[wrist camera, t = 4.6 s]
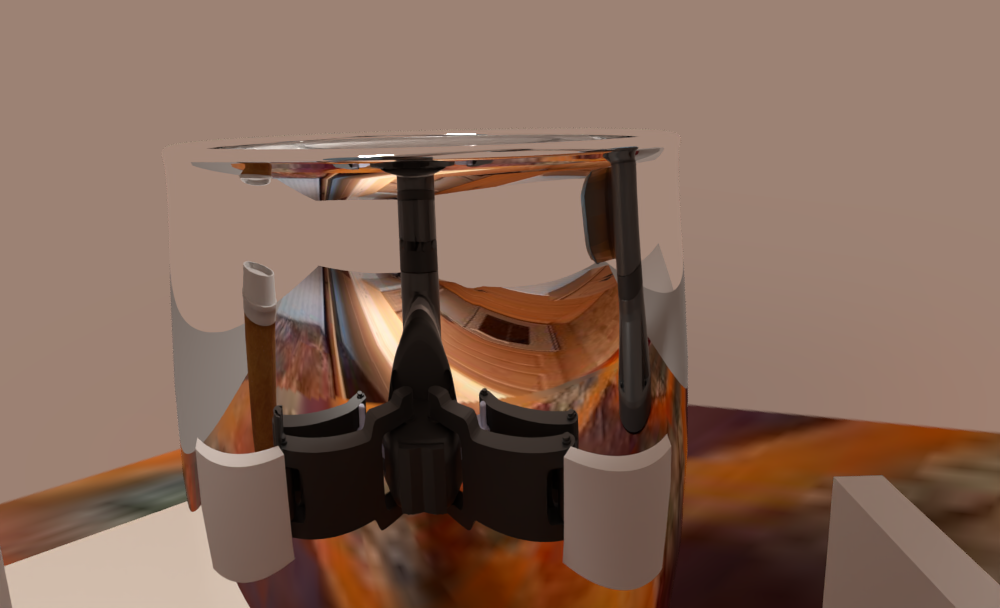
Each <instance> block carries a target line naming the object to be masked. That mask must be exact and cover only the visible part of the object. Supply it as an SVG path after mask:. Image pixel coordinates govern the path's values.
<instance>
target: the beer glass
mask: <svg viewBox="0 0 1000 608" xmlns="http://www.w3.org/2000/svg"><path fill="white" fill-rule="evenodd" d="M680 143H681V138H680V136H679V135H678V134H677V133H676V132H672V131H665V130H652V129H626V128H625V129H624V128H518V129H464V130H463V129H462V130H461V129H460V130H421V131H420V130H419V131H385V132H357V133H356V132H355V133H331V134H330V133H329V134H306V135H284V136H266V137H248V138H232V139H218V140H206V141H194V142H185V143H178V144H173V145H169V146H166V147H165V148H163V150H162V153H161V155H162V158H163V161H164V166H165V175H166V187H167V203H168V224H169V252H170V253H169V254H170V291H171V292H170V295H171V320H172V342H173V362H174V384H175V395H176V404H177V416H178V427H179V437H180V448H181V459H182V469H183V478H184V484H185V490H186V496H187V502H188V508H189V514H190V520H191V526H192V532H193V538H194V544H195V549H196V555H197V561H198V567H199V573H200V577H201V580H202V584H203V588H204V591H205V595H206V598H207V602H208V606H209V608H669V607H670V601H671V595H672V589H673V583H674V578H675V572H676V566H677V560H678V554H679V549H680V543H681V533H682V519H683V505H684V491H685V477H686V463H687V449H688V350H687V325H686V301H685V277H684V262H683V246H682V231H681V216H680V193H679V146H680Z"/></svg>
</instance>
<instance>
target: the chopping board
mask: <svg viewBox="0 0 1000 608" xmlns="http://www.w3.org/2000/svg"><path fill="white" fill-rule="evenodd" d="M4 568H5V573H6V578H7V583H8V588H9V594H10V599H11V604H12V608H209V606H208V602H207V598H206V595H205V591H204V588H203V584H202V580H201V577H200V573H199V567H198V561H197V555H196V549H195V544H194V538H193V532H192V526H191V520H190V514H189V508H188V502H184V503H181V504H179V505H176V506H173V507H170V508H167V509H165V510H162V511H159V512H156V513H153V514H150V515H148V516H145V517H142V518H139V519H136V520H134V521H131V522H128V523H125V524H122V525H119V526H117V527H114V528H111V529H108V530H105V531H103V532H100V533H97V534H94V535H91V536H89V537H86V538H83V539H80V540H77V541H74V542H72V543H69V544H66V545H63V546H60V547H58V548H55V549H52V550H49V551H46V552H43V553H41V554H38V555H35V556H32V557H29V558H27V559H24V560H21V561H18V562H15V563H12V564H10V565H7V566H4Z"/></svg>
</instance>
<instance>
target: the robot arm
mask: <svg viewBox="0 0 1000 608" xmlns="http://www.w3.org/2000/svg"><path fill="white" fill-rule="evenodd" d="M0 608H12V604H11V599H10V594H9V588H8V583H7V578H6V573H5V568H4V563H3V558H2V553H1V548H0ZM823 608H1000V585H999V584H998V583H997V582H996V581H995V580H994V579H993V578H992V577H991V576H990V575H989V574H987V573H986V572H985V571H984V570H983V569H982V568H981V567H980V566H979V565H978V564H977V563H976V562H975V561H974V560H972V559H971V558H970V557H969V556H968V555H967V554H966V553H965V552H964V551H963V550H962V549H961V548H960V547H959V546H957V545H956V544H955V543H954V542H953V541H952V540H951V539H950V538H949V537H948V536H947V535H946V534H945V533H944V532H942V531H941V530H940V529H939V528H938V527H937V526H936V525H935V524H934V523H933V522H932V521H931V520H930V519H929V518H927V517H926V516H925V515H924V514H923V513H922V512H921V511H920V510H919V509H918V508H917V507H916V506H915V505H914V504H912V503H911V502H910V501H909V500H908V499H907V498H906V497H905V496H904V495H903V494H902V493H901V492H900V491H899V490H897V489H896V488H895V487H894V486H893V485H892V484H891V483H890V482H889V481H888V480H887V479H886V478H885V477H884V476H882V475H878V476H843V477H834V478H833V490H832V501H831V513H830V525H829V537H828V549H827V561H826V573H825V585H824V597H823Z"/></svg>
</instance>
